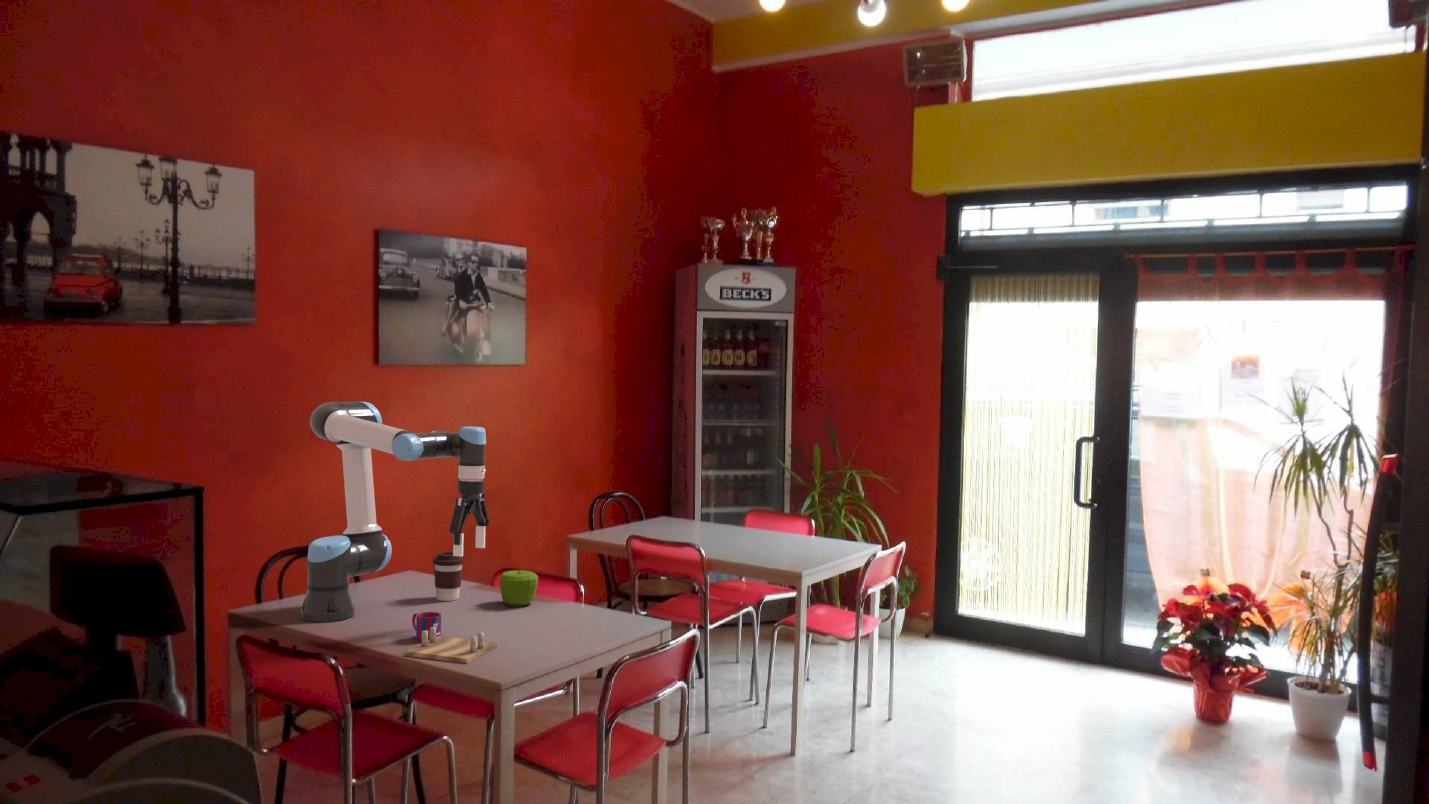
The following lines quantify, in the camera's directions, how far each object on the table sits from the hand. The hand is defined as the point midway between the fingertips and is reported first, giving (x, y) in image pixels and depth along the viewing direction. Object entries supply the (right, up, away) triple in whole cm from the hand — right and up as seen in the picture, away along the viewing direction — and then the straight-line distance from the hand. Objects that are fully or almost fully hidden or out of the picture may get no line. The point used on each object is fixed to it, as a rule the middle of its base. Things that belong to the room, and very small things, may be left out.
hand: (469, 551), depth 286 cm
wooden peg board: (+1, -23, -23) cm, 33 cm away
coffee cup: (-16, -21, +35) cm, 44 cm away
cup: (-10, -23, -10) cm, 27 cm away
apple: (+8, -22, +31) cm, 39 cm away
